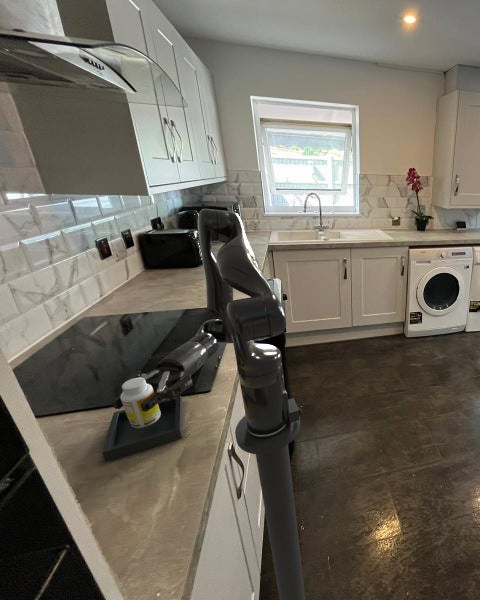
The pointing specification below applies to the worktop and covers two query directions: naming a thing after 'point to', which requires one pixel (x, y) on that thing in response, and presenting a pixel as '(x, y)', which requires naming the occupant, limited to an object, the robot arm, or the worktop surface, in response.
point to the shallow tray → (143, 431)
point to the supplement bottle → (138, 403)
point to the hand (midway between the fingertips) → (129, 406)
